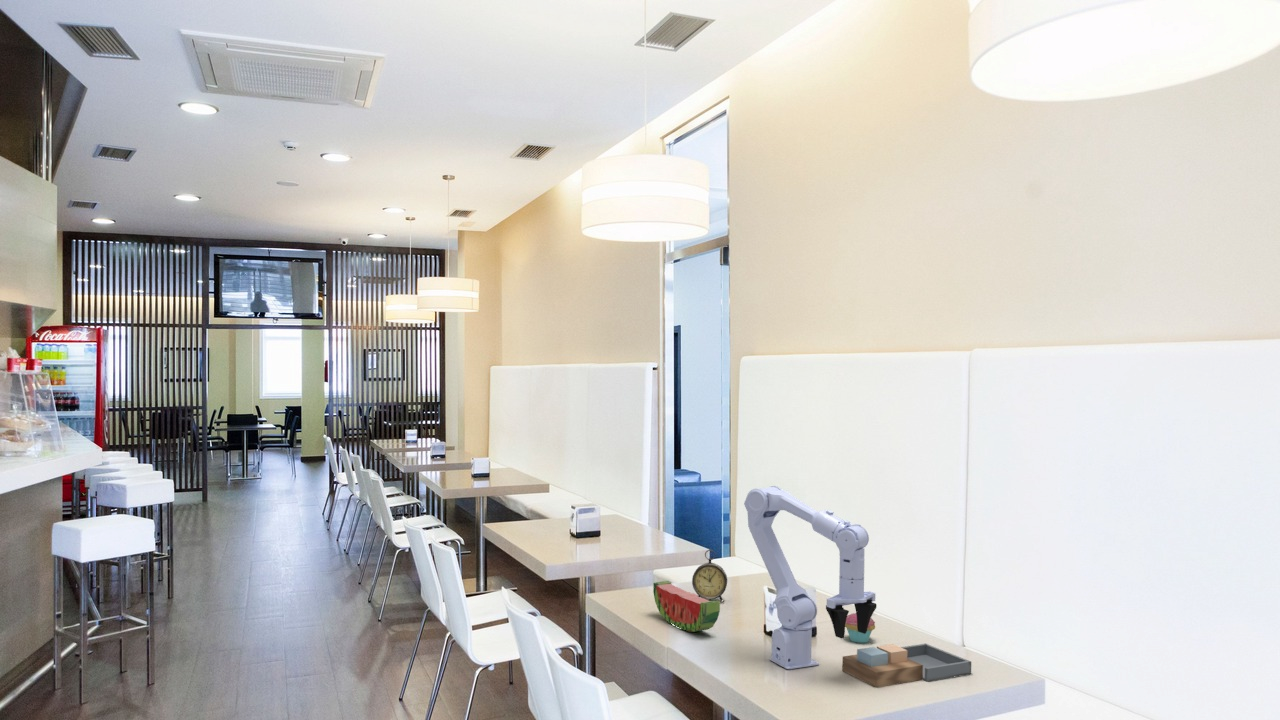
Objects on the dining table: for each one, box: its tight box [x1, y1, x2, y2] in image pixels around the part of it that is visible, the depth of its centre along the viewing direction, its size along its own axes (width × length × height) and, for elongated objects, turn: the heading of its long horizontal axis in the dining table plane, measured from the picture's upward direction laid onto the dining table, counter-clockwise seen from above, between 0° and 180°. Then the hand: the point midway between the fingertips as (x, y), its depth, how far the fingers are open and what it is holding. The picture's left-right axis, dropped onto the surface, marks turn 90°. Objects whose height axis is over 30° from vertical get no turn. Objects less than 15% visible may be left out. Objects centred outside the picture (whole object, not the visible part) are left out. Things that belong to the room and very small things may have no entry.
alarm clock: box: [691, 549, 728, 601], centre depth 263 cm, size 11×5×16 cm, turn 81°
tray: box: [900, 643, 972, 682], centre depth 203 cm, size 14×15×3 cm
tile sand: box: [876, 643, 907, 664], centre depth 199 cm, size 5×5×3 cm
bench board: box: [841, 653, 923, 688], centre depth 198 cm, size 14×12×3 cm
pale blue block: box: [856, 646, 888, 667], centre depth 196 cm, size 5×5×3 cm
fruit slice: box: [652, 580, 721, 633], centre depth 234 cm, size 26×6×10 cm, turn 31°
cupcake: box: [845, 612, 876, 644], centre depth 225 cm, size 9×8×12 cm
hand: (850, 634), depth 196 cm, fingers open, 7 cm apart
